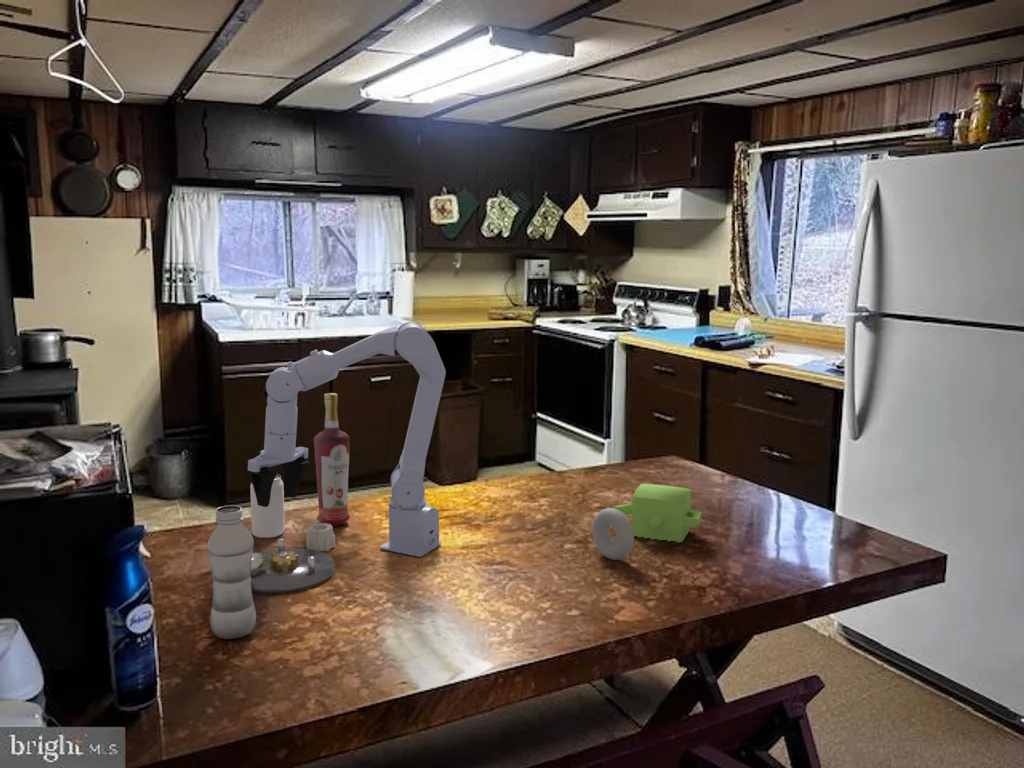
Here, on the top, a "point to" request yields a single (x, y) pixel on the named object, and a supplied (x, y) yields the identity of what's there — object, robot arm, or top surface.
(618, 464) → the top surface
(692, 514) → the gearbox
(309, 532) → the planet gear
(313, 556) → the carrier
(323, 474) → the liquor
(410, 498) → the robot arm
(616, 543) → the donut
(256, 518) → the can
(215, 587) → the plastic bottle
